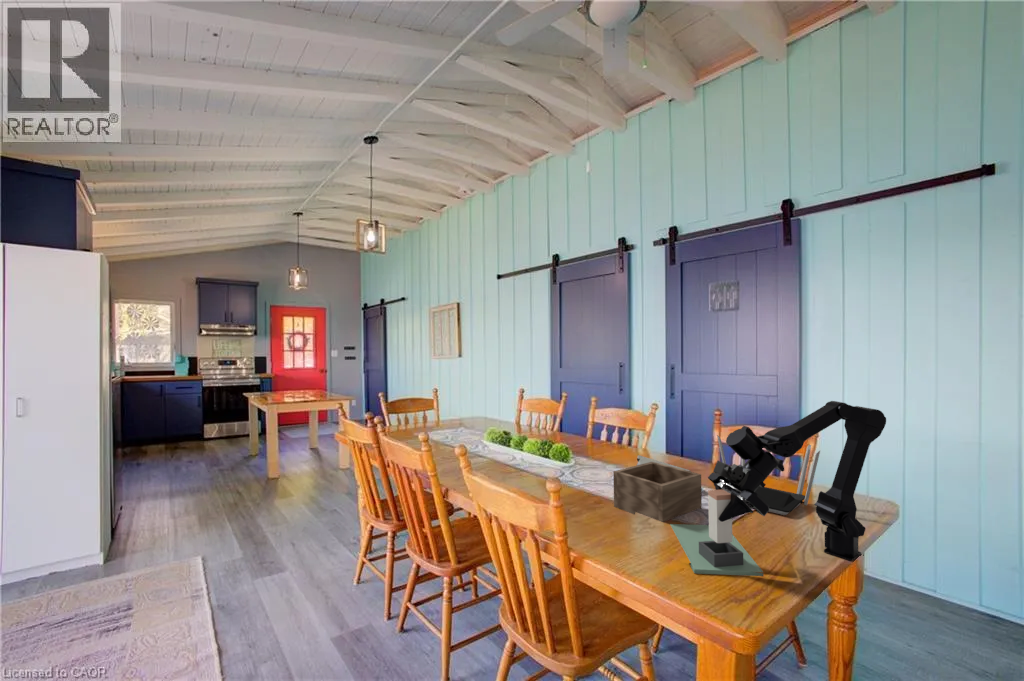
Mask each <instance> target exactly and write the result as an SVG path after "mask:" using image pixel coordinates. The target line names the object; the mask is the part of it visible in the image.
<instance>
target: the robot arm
mask: <svg viewBox="0 0 1024 681" xmlns="http://www.w3.org/2000/svg"><path fill="white" fill-rule="evenodd" d="M840 420H844V429H845V434H846V441H845V444H844V447H843V450H842V453H841V456H840V459H839V462H838V465H837V469H836V471H835V475H834V477H833V482H832V484H831V487H830V488H829V489H828V490H826V492H825V491H822V490H821V491H819V493H818V497H817V500H816V502H814V506H815V512H816V515H817V516H818V517H819V519H820V522H821V524H822V525H823V526H826V531H825V532H824V549H823V553H826V554H828V555H829V554H830V555H832V556H835V557H838V558H841V559H844V560H847V561H853V560H855V559H856V558H858V557H859V556H861V555H862V552H861V551H859V537H864V535H865V532H866V527H865V526H864V525H863V524H862V523H861V522H860V521H859V520H858V519H857V518H856V517H857V511H858V508H857V504H856V501H855V498H854V496H855V492H856V489H857V485H858V483H859V479H860V476H861V474H862V470H863V467H864V463H865V461H866V458H867V455H868V451H869V447H870V446H871V443H873V442H874V441H875V440H877V439H878V438H879V437H880V436H881V434H882V433H883V431H884V429H885V427H886V424H887V417H886V416H885V413H884V412H882V411H881V410H880V409H877V408H876V409H875V408H871V407H864V406H858V405H855V406H854V405H851V404H848V403H846V402H841V401H837V400H830V401H827V402H826V403H825V405H823V406H821V407H820V408H818V409H816V410H815V411H813V412H811V413H810V414H808V415H806V416H804V417H803V418H801V419H799V420H798V421H796V422H794V423H791V424H790V425H786V426H781V427H780V426H779V427H776V428H774V429H771V430H769V431H767V432H765V433H764V434H762V435H759V436H757V434H755V433H754V432H753V430H752V429H751V427H749V426H746V425H743V426H742V427H741V428H737V429H736V430H734V431H733V432H730V433H729V434H728V435H727V437H726V439H725V443H726V444H727V445H728V447H730V449H731V450H733V451H734V453H736V455H738V457H740V459H741V458H742V459H743V460H745V464H744V466H742V465H741V464H738V465H737V464H736V463H734V464H732V465H729V464H727V463H726V464H725V463H723V462H722V461H721V460H720V461H719V460H717V461H716V463H715V466H714V467H713V471H712V472H711V473H710V474H709V476H707V478H708V479H709V481H711V483H712V484H713V486H714V488H715V489H714V490H725V491H726V492H728V493H730V494H731V501H730V502H729V504H728V505H727V507H726V508H725V509H724V511H723V512H722V513H721V515H720V517H719V518H718V519H719V520H720V521H721V522H723V521H726V520H728V519H731V518H732V519H733V518H736V517H739V516H742V515H743V516H744V515H745V514H749V513H751V514H753V513H754V511H753V509H755V512H756V513H758V514H759V515H761V516H762V517H765V516H766V515H767V514H768V513H769V505H768V504H767V503H766V502H765V501H764V500H763V499H762V498H761V497H760V496H759V495H758V494H757V493H755V491H756V490H757V488H758V487H759V486H761V487H763V488H764V487H765V486H766V483H765V480H766V479H767V478H768V477H769V476H770V475H771V473H772V472H773V471H774V470H775V469H776V470H779V471H781V472H784V471H785V466H784V460H782V459H780V458H777V457H776V456H775V455H777V456H780V457H783V458H786V459H787V458H791V457H793V456H794V455H795V454H796V453H798V451H800V450H801V449H802V448H803V445H804V443H805V442H806V441H807V440H809V439H810V438H812V437H814V436H815V435H817V434H819V433H820V432H822V431H823V430H826V429H827V428H829V427H830V426H832V425H834V424H835V423H837V422H838V421H840ZM764 449H765V450H766V451H765V450H764ZM773 454H774V455H773ZM734 490H735V491H734ZM753 507H755V508H753Z"/></svg>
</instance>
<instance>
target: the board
mask: <svg viewBox="0 0 1024 681" xmlns="http://www.w3.org/2000/svg"><path fill="white" fill-rule="evenodd" d="M669 525H670V527H671V529H672V531H673V532H674V534H675V537H676V538H677V540H678V542H679V544H680V546H681V548H682V549H683V551H684V553H685V555H686V557H687V558H688V560H689V562H688V564H689V566H690V568H691V570H692V572H693V573H694V574H697V575H698V574H700V575H727V576H730V575H731V576H750V577H764V571H763V569H762V568H761V567H760V566H759V565H758V564H757V562H756V561H755V560H754V559H753V557H752V556H751V555H750V554H749V552H748V551H747V550H746V549H745V548H744V547H743V545H742V544H741V543H740V542H739V541H738V540H737V537H736V536H734V534H733V533H732V542H730V543H731V544H732V545H733V546H735V547H736V548H737V549H739V550H740V551H741V552H743V565H736V566H724V567H714V566H713V565H711V564H710V563H709V562H708V561H707V560H706V559H705V558H704V557H703V556H701V555H700V554H699V542H703V541H714V540H713V539H711V538H710V537H709V524H689V523H688V524H687V523H686V524H679V523H678V524H677V523H670V524H669Z"/></svg>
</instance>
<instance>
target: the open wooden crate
mask: <svg viewBox="0 0 1024 681" xmlns="http://www.w3.org/2000/svg"><path fill="white" fill-rule="evenodd" d="M636 465H637V464H636ZM636 465H634V466H630V467H626V468H622V469H621V468H620V469H617V470H614V471H613V473H612V474H613V507H614V508H617V509H619V510H622V511H624V512H627V513H630V514H632V515H636V513H637V514H640V515H643V516H645V517H648V518H649V519H654V520H655V521H656V520H657V521H658V522H661V523H664V522H668V521H669V520H673V519H675V518H678V517H680V516H683V515H686V514H688V513H691V512H694V511H697V510H703V506H702V505H703V504H702V502H703V501H702V500H703V499H702V498H703V496H702V474H701V473H697V472H693V471H691V470H690V471H691V472H690V471H686V470H682V469H678V468H675V467H671V466H667V465H663V464H659V463H655V462H649V463H645V464H641V465H637V466H636Z"/></svg>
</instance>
